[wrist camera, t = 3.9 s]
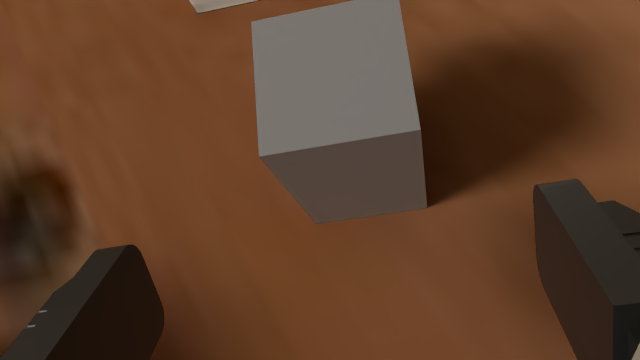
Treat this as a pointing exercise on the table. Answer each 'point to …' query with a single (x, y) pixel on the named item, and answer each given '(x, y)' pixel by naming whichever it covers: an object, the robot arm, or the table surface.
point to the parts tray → (215, 4)
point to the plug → (340, 109)
